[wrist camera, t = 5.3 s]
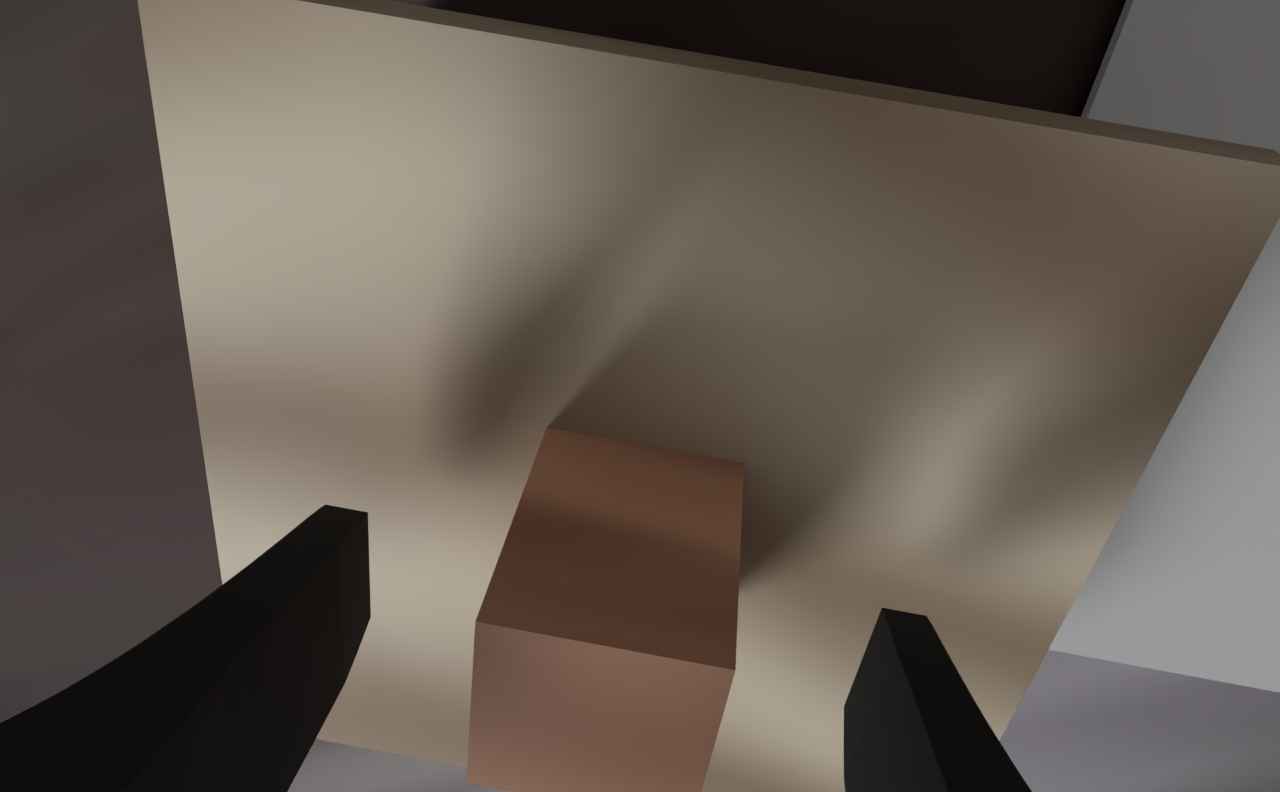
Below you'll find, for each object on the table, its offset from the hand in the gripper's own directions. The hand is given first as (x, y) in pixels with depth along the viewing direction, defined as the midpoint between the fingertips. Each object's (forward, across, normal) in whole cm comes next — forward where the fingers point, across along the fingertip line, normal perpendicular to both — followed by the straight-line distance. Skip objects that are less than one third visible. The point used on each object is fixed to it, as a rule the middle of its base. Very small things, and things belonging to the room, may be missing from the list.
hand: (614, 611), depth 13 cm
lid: (+3, 0, 0) cm, 3 cm away
